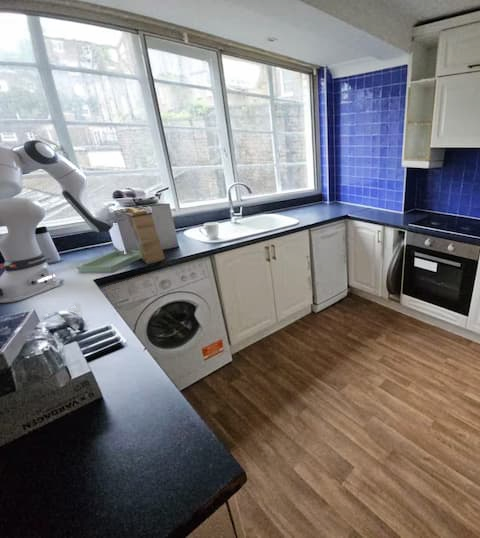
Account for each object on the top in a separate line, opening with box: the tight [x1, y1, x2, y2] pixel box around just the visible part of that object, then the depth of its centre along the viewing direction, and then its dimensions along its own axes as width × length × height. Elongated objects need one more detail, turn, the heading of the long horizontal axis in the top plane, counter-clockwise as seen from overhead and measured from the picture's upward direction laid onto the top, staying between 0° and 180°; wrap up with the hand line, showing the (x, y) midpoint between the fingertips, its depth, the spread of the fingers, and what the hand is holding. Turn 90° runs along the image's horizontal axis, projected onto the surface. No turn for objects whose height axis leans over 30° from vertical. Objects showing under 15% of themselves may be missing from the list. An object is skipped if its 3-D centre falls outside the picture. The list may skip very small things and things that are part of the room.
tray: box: [76, 250, 142, 273], centre depth 156 cm, size 24×18×3 cm
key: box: [125, 206, 147, 215], centre depth 153 cm, size 18×5×1 cm, turn 51°
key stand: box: [125, 211, 166, 265], centre depth 155 cm, size 11×9×26 cm
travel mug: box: [35, 225, 62, 265], centre depth 157 cm, size 6×7×20 cm
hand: (131, 208), depth 155 cm, fingers open, 7 cm apart
